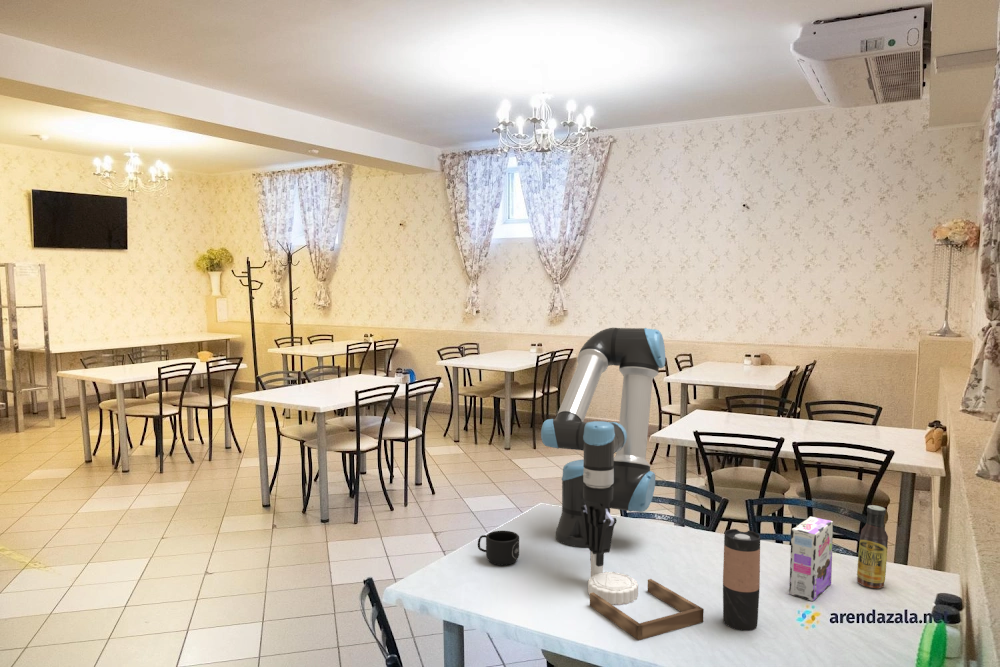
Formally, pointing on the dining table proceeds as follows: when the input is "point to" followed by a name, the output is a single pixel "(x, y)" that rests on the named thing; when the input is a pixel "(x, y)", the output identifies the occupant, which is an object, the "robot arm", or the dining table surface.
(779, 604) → the dining table surface
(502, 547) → the mug
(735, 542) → the travel mug
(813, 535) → the candy box
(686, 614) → the wooden u-shaped frame
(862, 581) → the sauce bottle
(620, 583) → the mooncake
